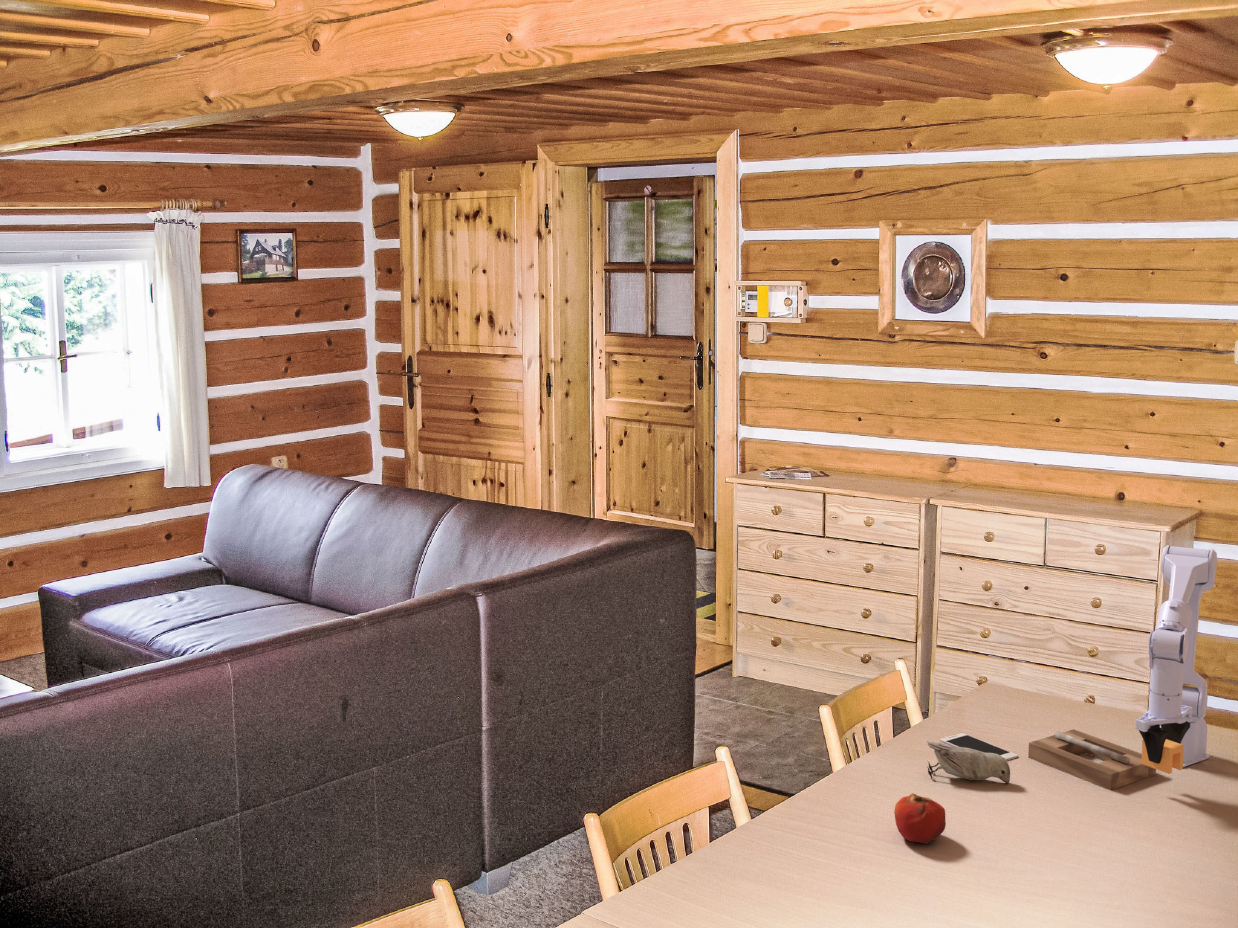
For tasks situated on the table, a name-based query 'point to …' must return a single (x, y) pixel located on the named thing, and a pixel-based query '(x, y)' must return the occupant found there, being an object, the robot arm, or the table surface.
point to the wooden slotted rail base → (1109, 774)
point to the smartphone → (976, 745)
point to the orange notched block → (1166, 757)
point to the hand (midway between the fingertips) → (1162, 758)
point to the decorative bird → (969, 763)
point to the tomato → (919, 818)
